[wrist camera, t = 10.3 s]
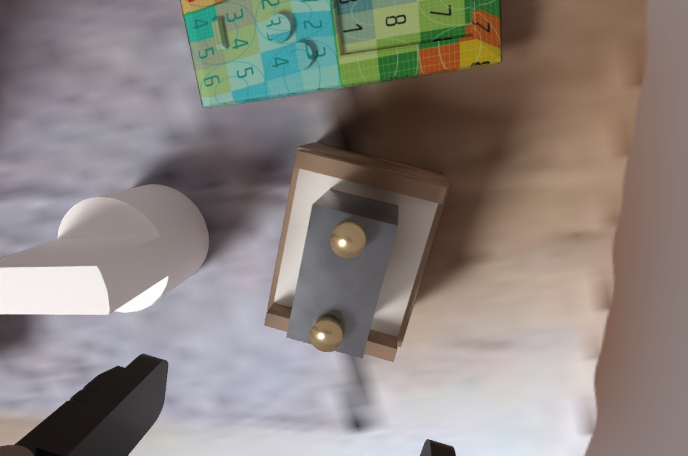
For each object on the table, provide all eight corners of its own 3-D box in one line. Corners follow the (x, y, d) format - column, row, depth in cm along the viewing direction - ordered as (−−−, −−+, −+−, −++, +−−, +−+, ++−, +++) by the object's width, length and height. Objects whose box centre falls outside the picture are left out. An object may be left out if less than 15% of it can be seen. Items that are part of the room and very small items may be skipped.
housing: (329, 188, 25) (308, 207, 19) (398, 205, 24) (397, 229, 19) (306, 299, 27) (282, 344, 21) (369, 315, 26) (360, 366, 21)
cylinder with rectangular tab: (200, 181, 32) (88, 213, 21) (216, 281, 34) (124, 360, 23) (104, 186, 34) (-50, 219, 22) (126, 282, 36) (-3, 357, 24)
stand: (288, 280, 33) (257, 323, 26) (315, 142, 30) (288, 148, 23) (400, 311, 33) (400, 364, 25) (442, 173, 29) (455, 189, 22)
